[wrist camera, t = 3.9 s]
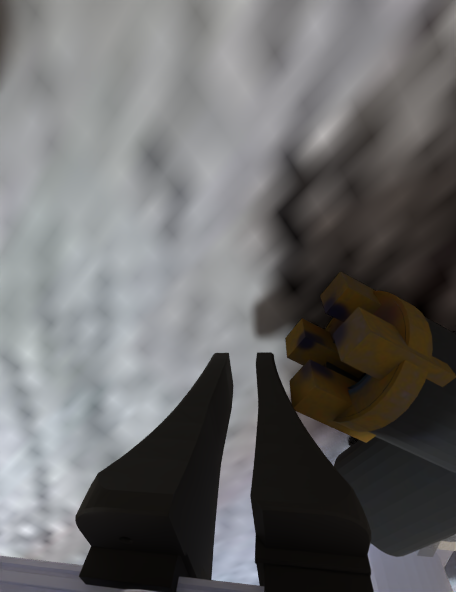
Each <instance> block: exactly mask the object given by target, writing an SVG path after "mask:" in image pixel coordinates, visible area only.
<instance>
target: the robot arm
mask: <svg viewBox="0 0 456 592" xmlns="http://www.w3.org/2000/svg"><path fill="white" fill-rule="evenodd" d="M256 373H257V387H258V422H257V436H256V448H255V459H254V469H253V478H252V487H251V495H250V496H251V503H252V510H253V518H254V525H255V532H256V544H255V563H256V564H257V570H258V577H259V583H260V586H257V585H248V584H240V583H231V582H223V581H214V580H211V576H212V561H213V546H214V534H215V521H216V509H217V498H218V488H219V478H220V468H221V461H222V455H223V449H224V444H225V439H226V434H227V429H228V424H229V419H230V414H231V408H232V398H233V380H232V373H231V366H230V359H229V353H215V354H214V355H213V356H212V358H211V360H210V362H209V363H208V365H207V366H206V368H205V370H204V371H203V373H202V374H201V376H200V377H199V378H198V380H197V381H196V383H195V384H194V386H193V387H192V388H191V390H190V391H189V392H188V393H187V395H186V396H185V397H184V398H183V400H182V401H181V402H180V403H179V405H178V406H177V407H176V408H175V409H174V410H173V411H172V412H171V414H170V415H169V416H168V417H167V418H166V419H165V420H164V421H163V422H162V423H161V424H160V425H159V426H158V427H157V428H156V429H155V430H154V431H153V432H151V433H150V434H149V435H148V436H147V437H146V438H145V439H143V440H142V441H141V442H140V443H139V444H137V445H136V446H135V447H134V448H133V449H131V450H130V451H129V452H128V453H126V454H125V455H124V456H122V457H121V458H120V459H118V460H117V461H115V462H114V463H112V464H111V465H110V466H108V467H107V468H105V469H104V470H102V471H101V472H99V473H98V474H97V476H96V478H95V480H94V481H93V483H92V484H91V486H90V488H89V490H88V492H87V494H86V496H85V498H84V500H83V502H82V504H81V506H80V508H79V510H78V512H77V514H76V524H77V526H78V528H79V530H80V531H81V533H82V534H83V535H84V537H85V538H86V539H87V541H88V542H89V543H90V545H91V548H90V550H89V553H88V555H87V557H86V560H85V562H84V565H76V564H67V563H58V562H50V561H41V560H32V559H24V558H15V557H6V556H0V592H453V590H452V587H451V585H450V582H449V579H448V577H447V574H446V572H445V569H444V567H445V565H446V564H447V562H448V560H449V558H450V557H451V555H452V553H453V551H451V550H440V549H437V550H436V552H435V554H434V556H433V557H425V556H417V554H416V552H412V553H410V554H408V555H405V556H401V557H395V556H391V555H388V554H386V553H384V552H382V551H380V550H379V549H378V548H376V547H375V546H374V545H372V544H371V540H372V534H371V529H370V526H369V523H368V520H367V517H366V515H365V512H364V510H363V508H362V506H361V504H360V501H359V499H358V498H357V496H356V494H355V492H354V490H353V488H352V487H351V486H350V484H349V483H348V482H347V481H346V480H345V479H344V478H343V477H342V476H341V474H340V473H339V472H338V471H337V470H336V469H335V467H334V466H333V465H332V464H331V462H330V461H329V460H328V459H327V457H326V456H325V455H324V454H323V452H322V451H321V450H320V448H319V447H318V445H317V444H316V443H315V441H314V440H313V439H312V437H311V436H310V434H309V433H308V431H307V430H306V428H305V427H304V425H303V423H302V422H301V420H300V419H299V417H298V415H297V413H296V412H295V410H294V408H293V406H292V404H291V402H290V400H289V398H288V396H287V394H286V392H285V390H284V387H283V385H282V383H281V380H280V378H279V375H278V372H277V369H276V365H275V361H274V354H272V353H257V358H256Z"/></svg>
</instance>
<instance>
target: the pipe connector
mask: <svg viewBox="0 0 456 592" xmlns="http://www.w3.org/2000/svg"><path fill="white" fill-rule="evenodd" d="M320 297H321V300H322V303H323V306H324V310H325V313H326V314H328V315H330V316H332V317H334V318H333V319H332V320H331V321H330V323H329V324H328V326H327V327H326V329H325V330H324V329H322V328H320V327H318V326H316V325H314V324H312V323H310V322H308V321H307V320H305V319H303V318H302V319H301V320H300V321H299V322H298V324H297V325H296V326H295V327H294V328H293V330H292V331H291V332H290V333H289V334H288V336H287V337H286V338H285V339H286V350H287V358H289V359H291V360H293V361H295V362H297V363H299V364H301V365H303V367H302V368H301V369H300V370H299V371H298V372H297V373H296V374H295V376H294V377H293V378H292V379H291V380H290V391H291V402H292V406H293V408H294V410H295V411H297V412H299V413H302V414H304V415H306V416H308V417H310V418H313V419H315V420H317V421H319V422H321V423H324V424H326V425H328V426H330V427H332V428H335V429H337V430H339V431H341V432H343V433H346V434H348V435H350V436H352V437H354V438H357V439H359V441H357V442H356V443H355V444H353V445H352V446H351V447H349V448H348V449H347V450H345V451H344V452H343V453H341V454H340V455H339V456H338V457H337V459H336V461H335V464H334V467H335V469H336V470H337V471H338V472H339V473H340V474H341V476H342V477H343V478H344V479H345V480H346V481H347V482H348V483H349V484H350V486H351V487H352V488H353V490H354V492H355V494H356V496H357V498H358V499H359V501H360V504H361V506H362V508H363V510H364V512H365V515H366V517H367V520H368V523H369V526H370V529H371V534H372V540H371V544H372V545H374V546H375V547H376V548H378V549H379V550H380V551H382V552H384V553H386V554H388V555H391V556H395V557H401V556H405V555H408V554H410V553H412V552H415V551H417V550H419V549H422V548H424V547H427V546H429V545H431V544H434V543H436V542H439V541H441V540H443V539H446V538H448V537H450V536H453V535H455V534H456V334H455V333H453V332H451V331H449V330H447V329H446V328H444V327H442V326H440V325H438V324H437V323H435V322H433V321H431V320H429V319H427V318H426V317H424V315H423V314H422V313H421V312H420V311H419V310H418V309H417V308H416V307H415V306H413V305H411V304H409V303H408V302H406V301H404V300H402V299H400V298H399V297H397V296H395V295H393V294H391V293H389V292H385V291H375V290H373V289H372V288H370V287H368V286H366V285H364V284H363V283H361V282H359V281H357V280H355V279H354V278H352V277H350V276H348V275H346V274H345V273H343V272H341V271H340V272H339V273H338V275H337V276H336V277H335V278H334V280H333V281H332V282H331V283H330V284H329V286H328V287H327V288H326V289H325V291H324V292H323V293H322V294H321V295H320Z"/></svg>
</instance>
